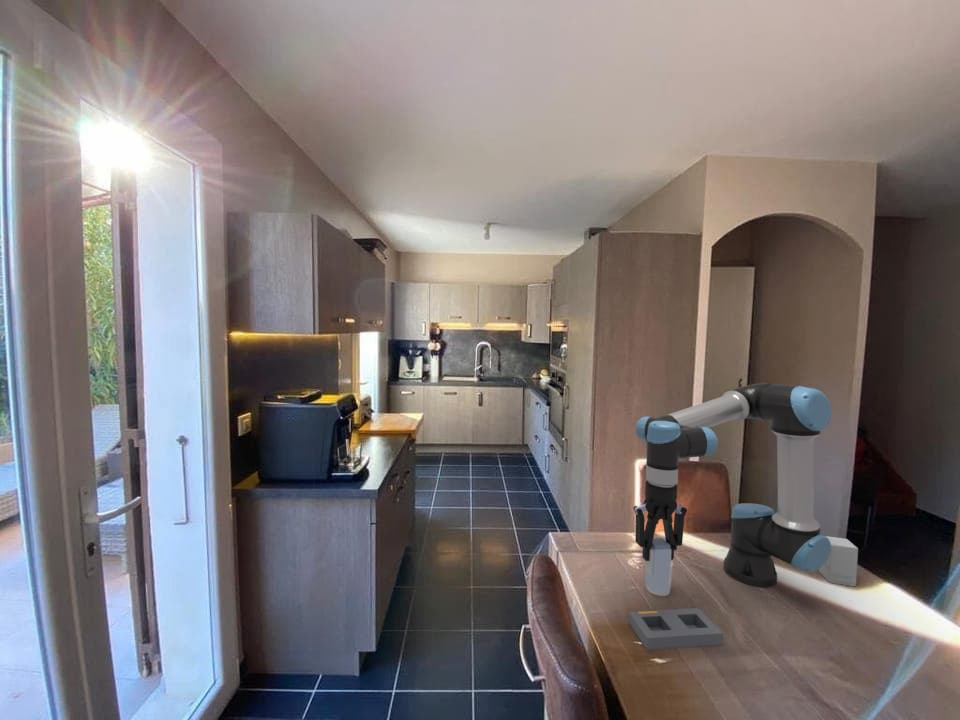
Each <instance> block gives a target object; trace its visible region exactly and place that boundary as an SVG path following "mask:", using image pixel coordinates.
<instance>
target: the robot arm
mask: <svg viewBox="0 0 960 720" xmlns="http://www.w3.org/2000/svg"><path fill="white" fill-rule="evenodd" d="M831 418H832V407H831V403H830V401H829V398H827V395H825V394H824V393H823V391H820V390H819V389H816V388H813V387H807V386H802V385H790V384H779V383H778V384H777V383H772V382H770V383H769V382H761V383H760V382H759V383H753V384H748V385H744V386H741V387H736V388H734V389H731V390H728V391H726V392H723V394H722V395H721V396H720V397H717V398H716V397H715V398H713V399H711V400H707V401H705V402H702V403H699V404H696V405H693V406H689V407H687V408H683V409H680V410H678V411H675V412H671V413H667V414H666V415H662V416H659V417H653V416H646V415H645V416H643V417H641V418H640V419H638V421H637V422H636V425H635V434H636V436H637V438H638V439H640V440H641V441H644V443H645V442H646V463H645V467H646V468H645V487H644V495H645V499H644V502H643V504H641V505H639V506H638V505H634V506H633V508H632V509H633V512H634V514H635V543H636V544H637V545H638V546H639V547H640V548H642V555H641V556H642V559H643V560H644V570H646V571H647V572H648V573H649V574H650V575H653V557H654V550H653V549H652V548H651V546H652V542H653V538H655V533H656V528H657V525H658V524H659V521H661V520H662V524H663V525H662V526H663V531H664V537H665V538H664V540H665V541H666V542H667V543H668V544H670V566H669V574H670V571H671V561H674V560H675V559H674V558H675V551H677V549H678V546H679V547H681V546H682V545H683V538H684V525H685V517H686V515H687V512H688V509H687V508H686V507H685V506H683V505H681V504H678V503H677V499H678V486H677V484H678V483H679V463H680V459H687V458H689V459H690V458H703V457H705V456H711V455H713V454H715V452H716V451H717V449H718V447H719V445H718V444H719V440H718V437H717V435H716V433H715V432H714V431H713V430H712V429H710V428H713V427H716V426H719V425H721V424H724V423H727V422H729V421H743V420H746V419H752V420H754V419H755V420H760V421H766V422H770V430H771V432H772V433H773V434H775V436H776V438H777V439H776V441H777V442H776V443H777V445H776V446H777V450H776V451H777V454H776V455H777V457H776V458H777V512H775V510H774V508H772V507H770V506H767V505H763V504H760V503H759V504H758V503H746V502H745V503H742V502H741V503H738V504H735V505H734V506H733V507H732V512H731V515H730V516H731V517H730V518H731V519H730V522H731V523H730V525H731V526H730V544H729V545H730V546H729V549H728V551H727V554H726V556H725V557H724V559H723V571H724V572H725V573H726V574H727V575H728V576H729V577H731V578H732V579H734V580H736V581H739V582H741V583H743V584H746V585H750V586H754V587H758V588H759V587H761V588H769V587H775V585H777V583H778V572H777V569H776V566H775V562H774V560H773V558H776V559H779V560H780V561H782V562H784V563H786V564H788V565H790V566H791V567H793V568H796V569H799V570H801V571H804V572H807V573H813V572H816V571H818V570H820V568H821V567H822V566H823V565H824V563H825V562H826V560H827V559H828V556H829V554H830V549H831V544H830V541H829V539H828V538H827V537H825V536H826V535H824V534H821V524H820V522H819V521H818V520H816V519H815V518H814V517H815V516H814V511H815V510H814V508H815V507H814V502H815V500H814V498H815V496H814V495H815V494H814V493H815V492H814V489H815V486H814V483H815V481H814V480H815V479H814V478H815V477H814V471H815V470H814V458H815V457H814V451H815V450H814V447H815V446H814V443H815V442H814V440H815V439H816V438H818V437H819V436H820V435H821V431H823V430H825V429H826V428H827V427H828V426H829V424H830V422H829V421H830V420H831ZM646 512H647V515H646ZM673 514H674V517H673ZM645 515H646V518H647V519H646V521H645ZM645 522H646V524H645Z"/></svg>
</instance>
